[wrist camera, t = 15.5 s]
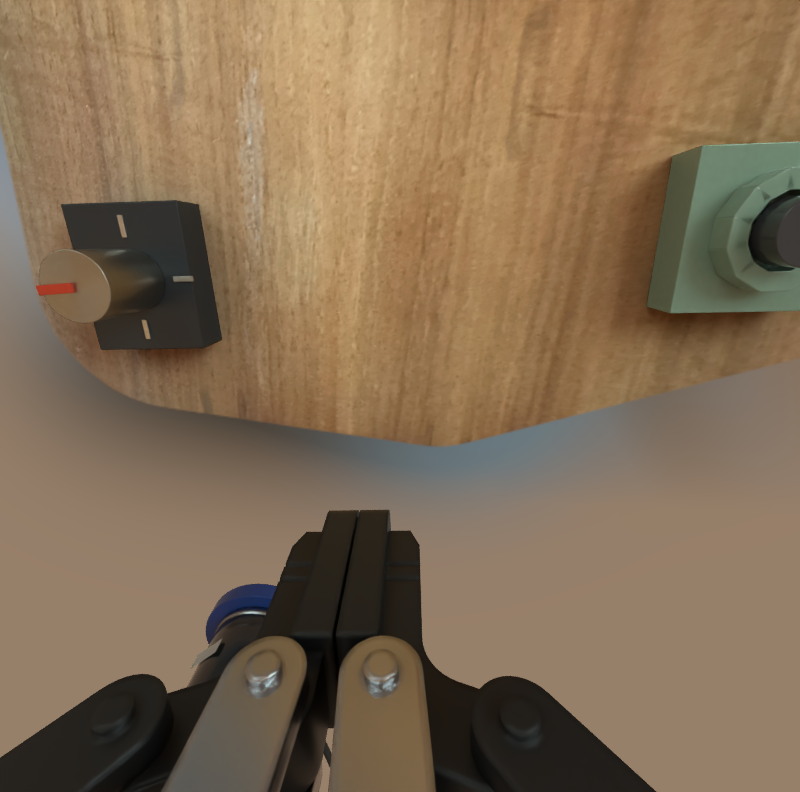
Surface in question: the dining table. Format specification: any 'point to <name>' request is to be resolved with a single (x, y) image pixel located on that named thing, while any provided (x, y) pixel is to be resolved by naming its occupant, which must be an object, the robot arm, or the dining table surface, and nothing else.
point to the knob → (100, 283)
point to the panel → (177, 259)
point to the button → (778, 234)
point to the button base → (723, 230)
